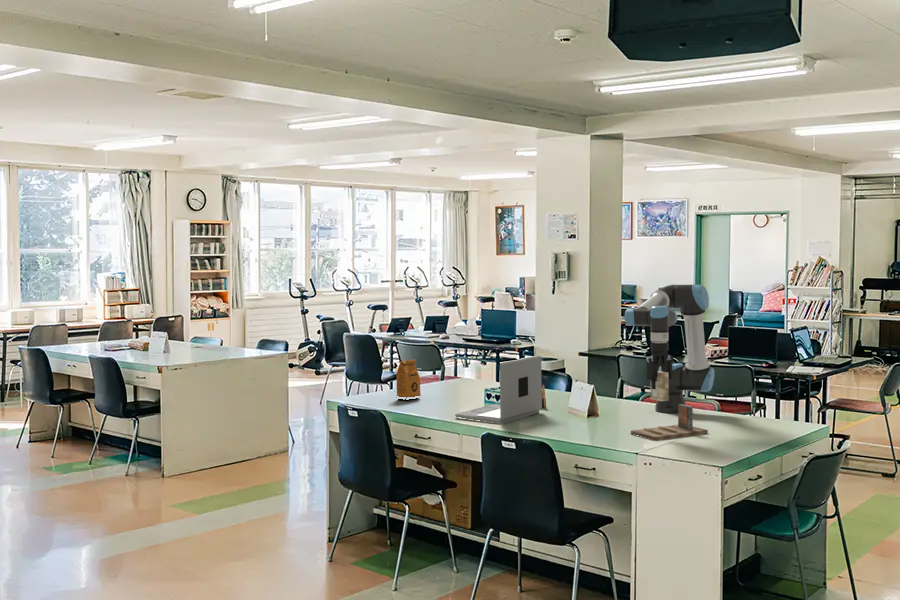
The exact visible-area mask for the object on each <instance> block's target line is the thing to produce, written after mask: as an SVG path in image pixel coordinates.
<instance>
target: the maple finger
mask: <svg viewBox="0 0 900 600" xmlns="http://www.w3.org/2000/svg"><path fill="white" fill-rule="evenodd" d="M656 382H658V397H654V396H652V388H651V387H650V400H653V401H656V402H657V401H669V391H668V373H667V372H661V371H659V370H658V373H657V379H656Z"/></svg>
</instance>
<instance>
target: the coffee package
mask: <svg viewBox="0 0 900 600" xmlns="http://www.w3.org/2000/svg"><path fill="white" fill-rule="evenodd" d="M415 363H416V359H409V360H401V361H400V362H399V364H398V367H397V371H396V385H395V386H396V397H397V396H399V397H406V398H407V397H415V396H421V397H422V395H421V378H420V374H419V371H418V370H417V367H416V364H415Z"/></svg>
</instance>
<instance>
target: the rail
mask: <svg viewBox="0 0 900 600" xmlns="http://www.w3.org/2000/svg"><path fill="white" fill-rule="evenodd" d="M693 415H694V413H693V406H692V405H687V404H686V405H683V404H680V405H678V413H677V418H678V420H677V421H678V422H677V424H673V425H665V426H661V425H658V426H656V427H650V428H648V427H643V429H632V430H630V435H632V434H635V435H634V436H636V435H639V436H638V437H640V436H642V437H641V438H643V437H646V438H645V439H647V438H649V439H648V440H650V439H652V441H654V440H656V441H662V440H661V439H663V440H669V439H679V438H685V437H691V436H690V435H693V436H698V435H697V434H700V435H706V434H705V433H708V434H709V431H708V429H706V428H701V427H696V426H694V425H693V423H694V419H693V418H694V416H693Z"/></svg>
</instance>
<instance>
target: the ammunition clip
mask: <svg viewBox="0 0 900 600" xmlns="http://www.w3.org/2000/svg"><path fill="white" fill-rule="evenodd" d="M545 391H546V389H545V385H544V384H542V408H541V409H546V408H547V401H546V400H547V397H546V392H545Z"/></svg>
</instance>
